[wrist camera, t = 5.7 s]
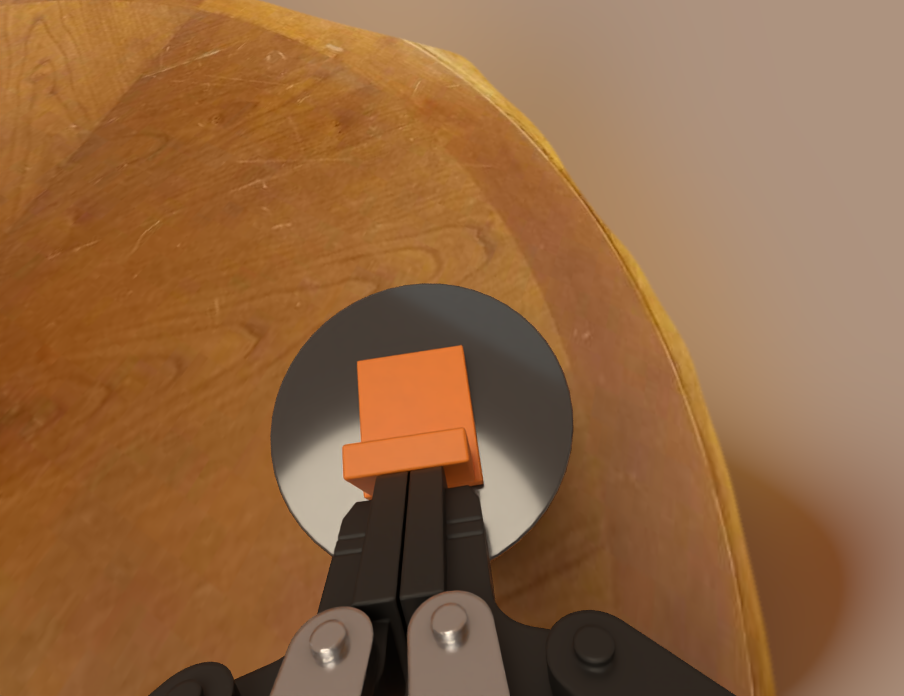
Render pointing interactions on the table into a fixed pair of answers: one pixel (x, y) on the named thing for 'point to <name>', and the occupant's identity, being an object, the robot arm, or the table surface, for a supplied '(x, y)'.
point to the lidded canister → (492, 395)
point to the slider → (414, 419)
